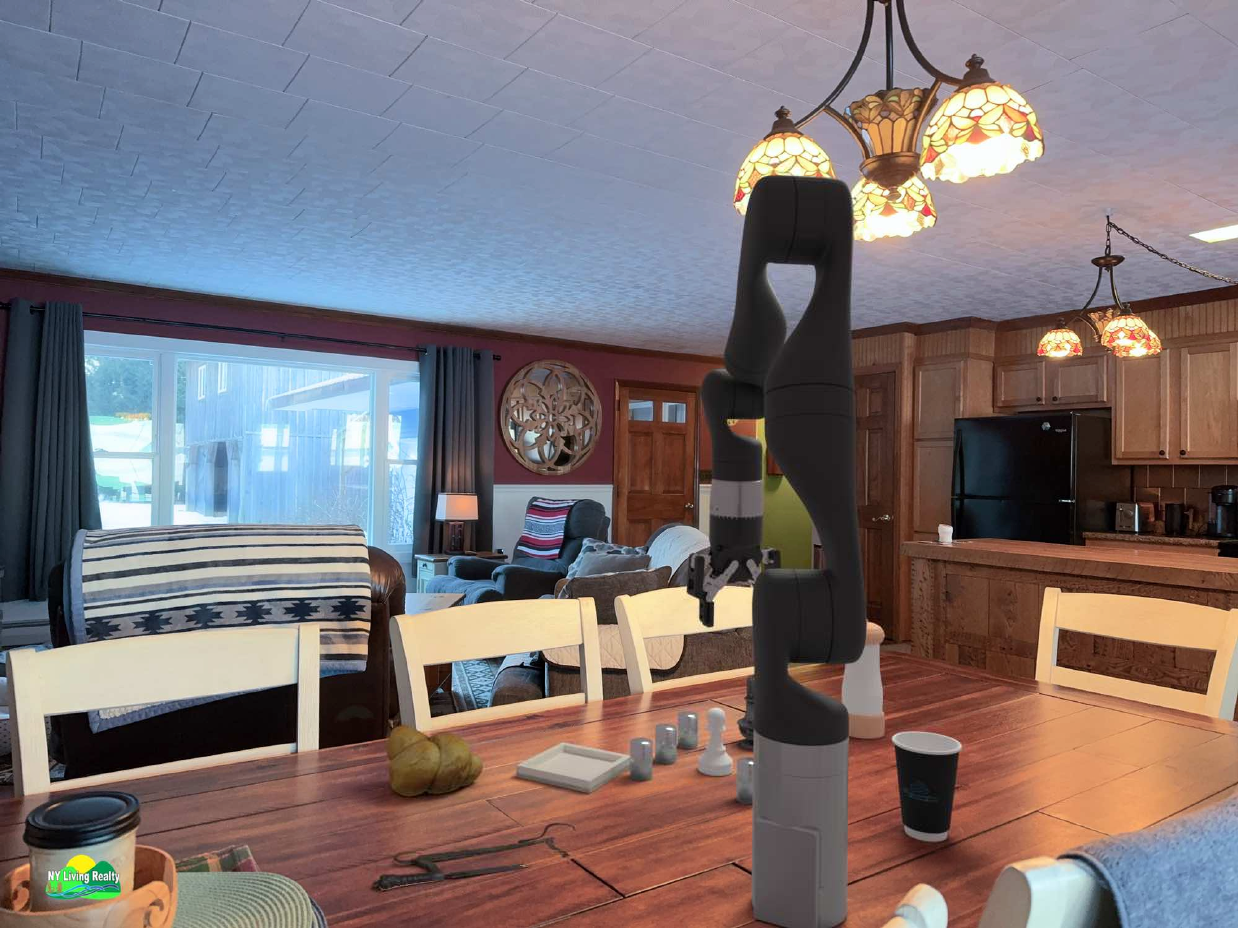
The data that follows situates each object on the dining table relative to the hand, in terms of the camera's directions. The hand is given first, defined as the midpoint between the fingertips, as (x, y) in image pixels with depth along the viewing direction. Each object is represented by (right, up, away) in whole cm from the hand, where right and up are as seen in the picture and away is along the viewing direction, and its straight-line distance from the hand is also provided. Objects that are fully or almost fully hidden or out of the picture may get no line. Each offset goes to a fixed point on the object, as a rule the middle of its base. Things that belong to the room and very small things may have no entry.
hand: (733, 622), depth 121 cm
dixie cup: (+20, -22, -20) cm, 36 cm away
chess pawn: (-2, -22, +1) cm, 22 cm away
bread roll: (-41, -21, -7) cm, 47 cm away
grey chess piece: (+5, -22, +13) cm, 26 cm away
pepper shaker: (+24, -22, +21) cm, 39 cm away
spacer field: (-2, -22, +1) cm, 22 cm away
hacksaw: (-32, -21, -27) cm, 47 cm away
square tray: (-23, -21, 0) cm, 31 cm away
